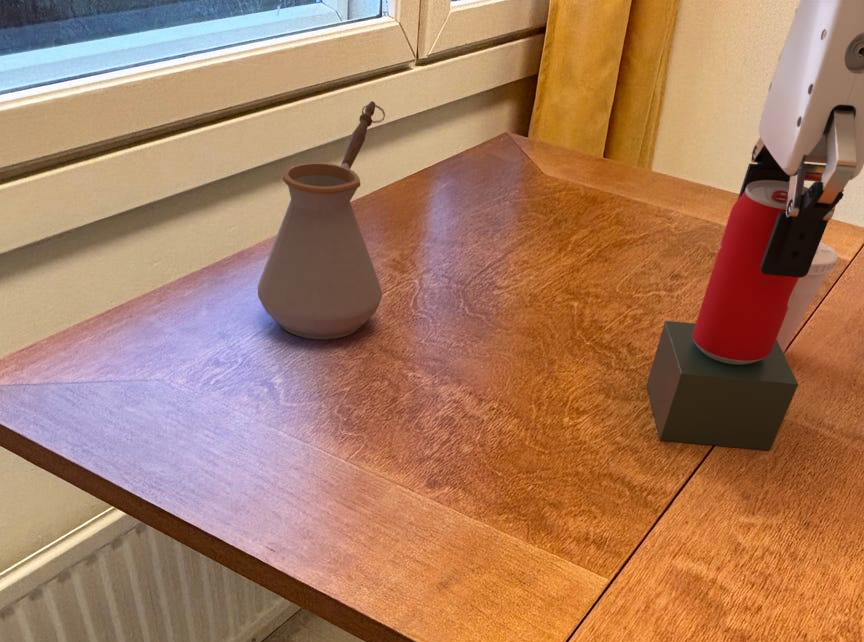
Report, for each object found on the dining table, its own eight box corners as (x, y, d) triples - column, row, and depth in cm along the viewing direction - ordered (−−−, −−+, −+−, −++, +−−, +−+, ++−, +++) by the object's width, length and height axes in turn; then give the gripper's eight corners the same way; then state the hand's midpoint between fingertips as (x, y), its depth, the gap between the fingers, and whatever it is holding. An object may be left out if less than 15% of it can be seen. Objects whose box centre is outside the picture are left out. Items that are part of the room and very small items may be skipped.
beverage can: (773, 344, 73) (833, 188, 64) (762, 377, 69) (825, 215, 60) (696, 326, 74) (746, 171, 66) (682, 357, 70) (732, 196, 62)
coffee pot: (359, 359, 79) (366, 179, 69) (239, 336, 81) (228, 157, 70) (420, 268, 94) (433, 108, 83) (317, 249, 96) (317, 90, 85)
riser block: (747, 394, 79) (772, 330, 75) (770, 450, 72) (798, 384, 68) (646, 385, 79) (665, 320, 75) (659, 440, 73) (681, 373, 68)
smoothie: (804, 349, 85) (869, 196, 76) (785, 375, 82) (850, 217, 72) (739, 329, 88) (794, 177, 78) (718, 353, 84) (772, 197, 74)
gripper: (988, -10, 47) (851, 302, 59) (886, -60, 59) (789, 208, 72) (846, -21, 47) (738, 293, 60) (773, -69, 60) (696, 200, 72)
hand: (766, 246), depth 66 cm, fingers open, 9 cm apart
